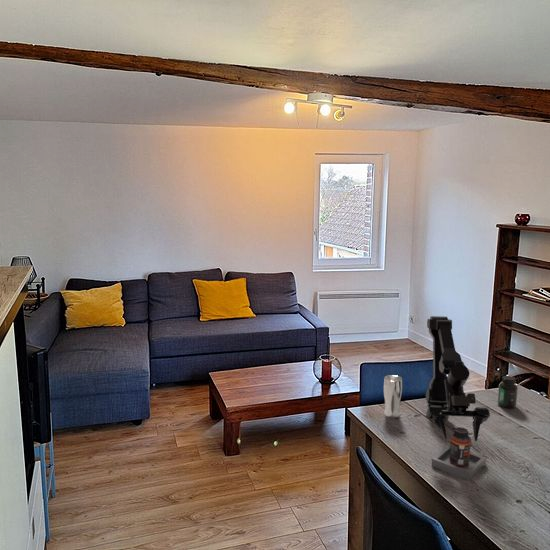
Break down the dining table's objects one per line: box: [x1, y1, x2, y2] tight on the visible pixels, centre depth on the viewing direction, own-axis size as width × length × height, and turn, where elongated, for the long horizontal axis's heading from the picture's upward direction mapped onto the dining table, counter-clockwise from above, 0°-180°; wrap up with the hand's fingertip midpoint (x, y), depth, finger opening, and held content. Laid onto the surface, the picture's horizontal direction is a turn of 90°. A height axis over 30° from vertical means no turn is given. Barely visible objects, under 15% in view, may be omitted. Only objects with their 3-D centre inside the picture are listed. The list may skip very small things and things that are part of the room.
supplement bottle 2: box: [497, 375, 519, 410], centre depth 205 cm, size 7×7×12 cm
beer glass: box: [383, 374, 403, 419], centre depth 197 cm, size 7×7×15 cm
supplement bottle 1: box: [449, 426, 472, 467], centre depth 161 cm, size 6×6×11 cm
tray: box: [431, 444, 487, 482], centre depth 161 cm, size 12×12×2 cm
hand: (461, 439), depth 159 cm, fingers open, 9 cm apart
